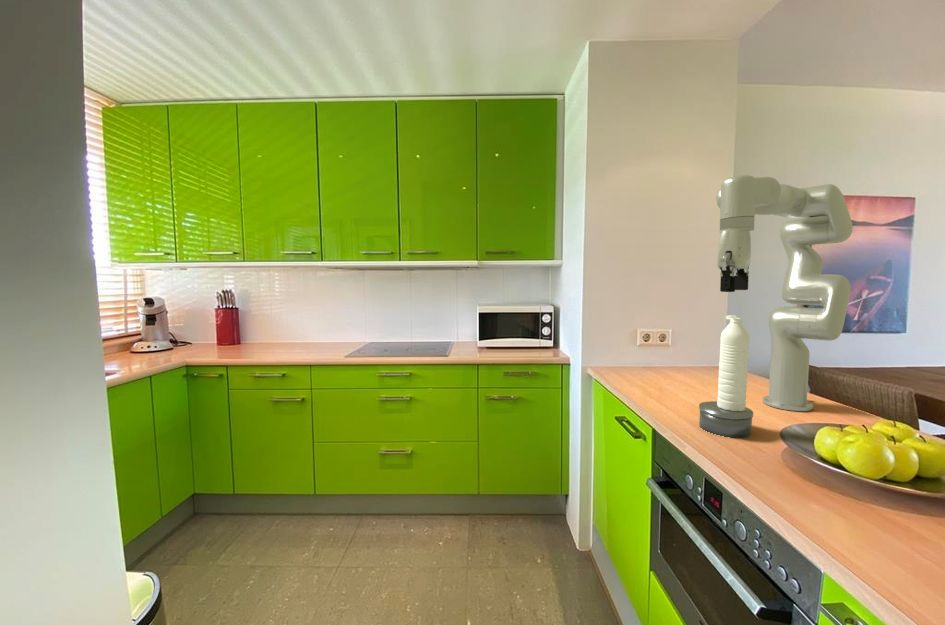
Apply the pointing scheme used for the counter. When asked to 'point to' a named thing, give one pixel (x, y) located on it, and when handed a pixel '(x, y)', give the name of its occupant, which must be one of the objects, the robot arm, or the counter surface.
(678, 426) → the counter surface
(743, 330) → the water bottle
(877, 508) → the counter surface
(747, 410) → the cake tin
